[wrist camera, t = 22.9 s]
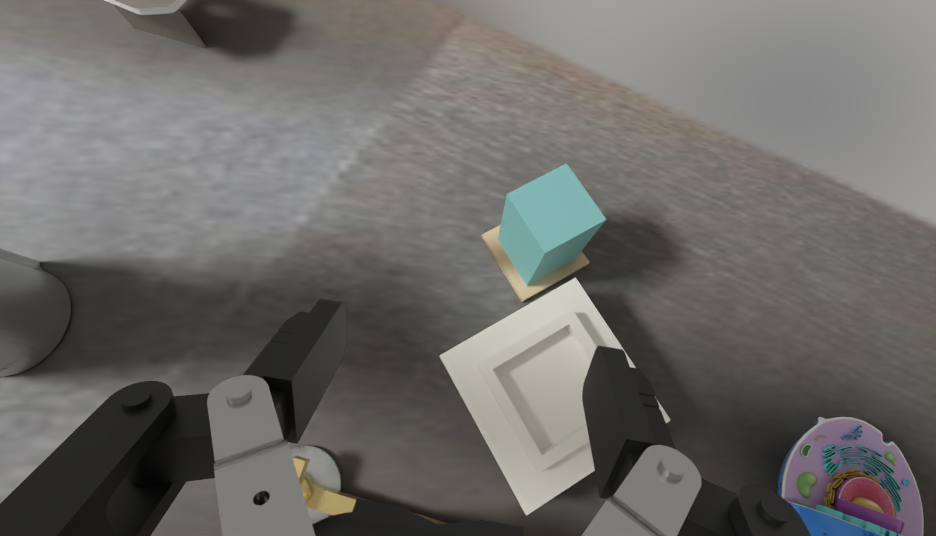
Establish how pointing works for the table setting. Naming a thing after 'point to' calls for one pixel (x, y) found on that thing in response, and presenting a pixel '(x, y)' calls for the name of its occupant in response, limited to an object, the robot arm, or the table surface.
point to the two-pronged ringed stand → (159, 18)
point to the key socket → (320, 473)
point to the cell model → (850, 482)
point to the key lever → (327, 493)
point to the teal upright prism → (548, 223)
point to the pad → (513, 275)
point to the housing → (535, 390)
